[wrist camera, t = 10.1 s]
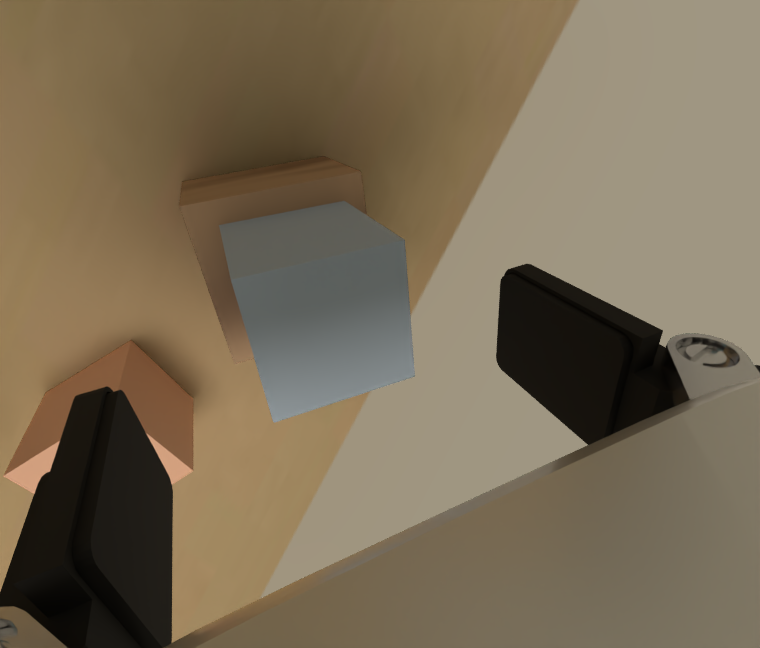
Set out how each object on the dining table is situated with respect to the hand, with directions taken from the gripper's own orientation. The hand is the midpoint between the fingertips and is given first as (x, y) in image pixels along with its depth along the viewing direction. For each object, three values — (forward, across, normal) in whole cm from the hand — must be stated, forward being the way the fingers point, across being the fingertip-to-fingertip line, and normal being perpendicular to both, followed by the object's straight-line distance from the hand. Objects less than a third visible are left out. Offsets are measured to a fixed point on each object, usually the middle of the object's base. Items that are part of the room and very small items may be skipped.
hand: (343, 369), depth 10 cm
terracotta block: (+14, +9, +8) cm, 19 cm away
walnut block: (+15, -1, +1) cm, 15 cm away
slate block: (+9, -1, +1) cm, 9 cm away
